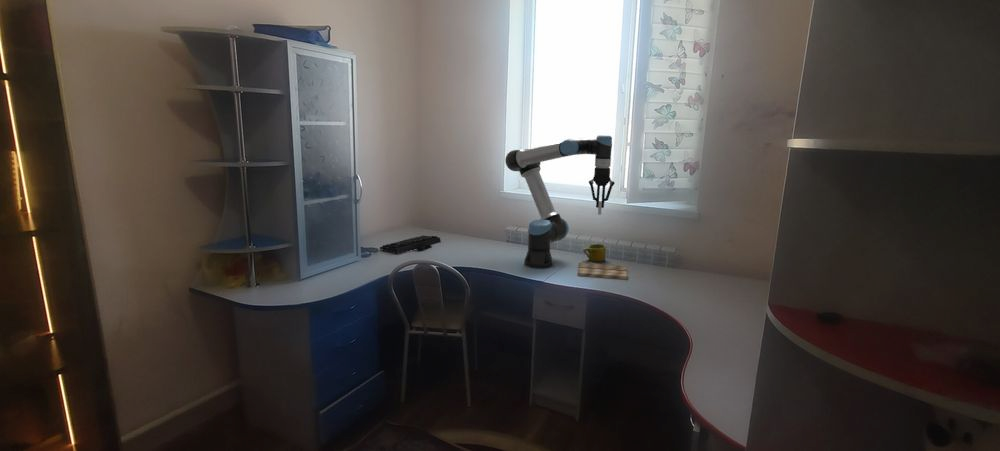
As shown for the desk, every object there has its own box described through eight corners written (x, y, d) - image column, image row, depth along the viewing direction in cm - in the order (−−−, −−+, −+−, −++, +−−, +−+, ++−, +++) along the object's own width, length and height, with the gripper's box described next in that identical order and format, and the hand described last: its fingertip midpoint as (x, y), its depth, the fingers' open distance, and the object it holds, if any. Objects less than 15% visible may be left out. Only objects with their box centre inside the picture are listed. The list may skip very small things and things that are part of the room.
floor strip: (577, 275, 237) (577, 272, 237) (578, 270, 246) (578, 267, 245) (627, 279, 233) (627, 276, 232) (626, 273, 242) (626, 270, 241)
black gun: (422, 238, 306) (422, 231, 305) (448, 244, 294) (448, 237, 293) (378, 250, 276) (378, 243, 275) (405, 257, 264) (405, 249, 263)
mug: (606, 254, 270) (604, 239, 265) (608, 264, 261) (606, 249, 256) (584, 256, 272) (582, 242, 267) (585, 267, 263) (583, 252, 258)
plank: (578, 269, 246) (578, 266, 246) (578, 265, 253) (578, 262, 253) (625, 273, 242) (626, 270, 242) (625, 268, 249) (625, 265, 249)
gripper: (589, 167, 233) (586, 214, 238) (616, 168, 231) (613, 216, 236) (589, 166, 240) (586, 212, 245) (615, 167, 238) (612, 213, 243)
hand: (599, 214), depth 241 cm, fingers closed
